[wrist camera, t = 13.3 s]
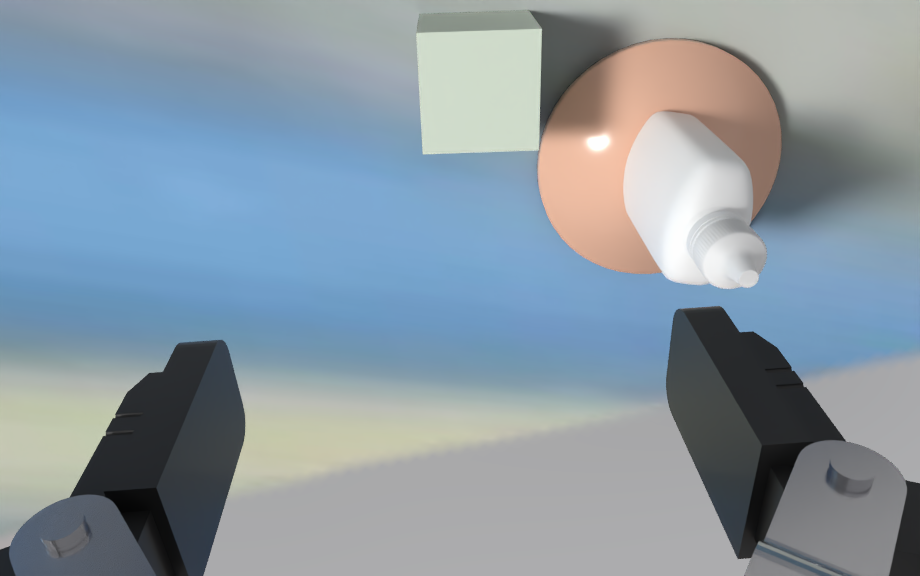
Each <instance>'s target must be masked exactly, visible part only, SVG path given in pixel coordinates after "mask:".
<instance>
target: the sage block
mask: <svg viewBox="0 0 920 576" xmlns="http://www.w3.org/2000/svg"><path fill="white" fill-rule="evenodd" d="M416 38H417V56H418V75H419V93H420V112H421V130H422V148H423V154H446V153H475V152H504V151H533V150H539V125H540V85H541V46H542V28H541V27H540V25H539V24H538V23H537V21H536V20H535V18H534V17H533V16H532V14H531V13H530V11H529V10H523V11H493V12H463V13H433V14H419V19H418V25H417V31H416Z"/></svg>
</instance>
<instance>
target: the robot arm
mask: <svg viewBox="0 0 920 576" xmlns="http://www.w3.org/2000/svg"><path fill="white" fill-rule="evenodd" d="M666 390H667V398H668V404H669V407H670V411H671V413H672V416H673V418H674V420H675V422H676V424H677V427H678V429H679V431H680V433H681V435H682V438H683V440H684V442H685V444H686V446H687V448H688V451H689V453H690V455H691V457H692V459H693V462H694V464H695V466H696V468H697V470H698V472H699V475H700V477H701V479H702V481H703V484H704V485H705V488H706V490H707V492H708V494H709V497H710V499H711V501H712V503H713V505H714V507H715V510H716V512H717V514H718V516H719V518H720V521H721V523H722V525H723V527H724V530H725V532H726V534H727V536H728V538H729V540H730V542H731V545H732V547H733V549H734V551H735V554H736V556H737V558H738V559H743V558H751V560H750V563H749V565H748V567H747V570H746V572H745V575H744V576H920V483H915V482H910V481H907V480H905V479H904V477H903V475H902V474H901V473H900V471H899V470H898V469H897V468H896V466H894V465H893V463H891V462H890V461H889V460H888V459H886V458H885V457H883V456H882V455H880V454H879V453H877V452H875V451H873V450H871V449H869V448H866V447H864V446H861V445H858V444H854V443H851V442H846V441H845V439H844V438H843V437H842V435H841V434H840V432H839V431H838V430H837V428H836V427H835V426H834V424H833V423H832V422H831V420H830V419H829V418H828V416H827V415H826V413H825V412H824V411H823V409H822V408H821V407H820V405H819V404H818V403H817V401H816V400H815V398H814V397H813V396H812V394H811V393H810V392H809V390H808V389H807V388H806V387H804V386H803V382H802V381H801V379H800V378H799V377H798V375H797V374H796V373H795V371H792V369H791V366H790V364H789V363H788V362H787V360H786V359H785V358H784V356H783V355H782V354H781V352H780V351H779V349H778V348H777V347H775V346H774V345H772V344H771V343H769V342H768V341H766V340H765V339H763V338H762V337H760V336H759V335H757V334H756V333H754V332H739V331H738V329H737V328H736V326H735V325H734V323H733V322H732V320H731V319H730V317H729V316H728V315H727V313H726V312H725V310H724V309H723V308H722V307H720V306H714V307H699V308H685V309H678V310H676V312H675V314H674V318H673V325H672V333H671V342H670V351H669V360H668V368H667V377H666ZM115 415H116V418H113V419H112V421H111V423H110V425H109V427H108V429H107V430H106V436H103V438H102V439H101V441H100V443H99V445H98V447H97V449H96V450H95V452H94V454H93V456H92V458H91V460H90V461H89V463H88V465H87V467H86V469H85V470H84V472H83V474H82V476H81V478H80V480H79V481H78V483H77V485H76V487H75V489H74V491H73V492H72V494H71V496H70V498H67V499H63V500H61V501H58V502H56V503H54V504H51V505H50V506H48V507H46V508H44V509H42V510H41V511H39V512H38V513H37V514H35V515H34V516H33V517H31V518H30V519H29V520H28V521H27V522H26V523H25V524H24V525H23V526H22V527H21V528H20V529H19V531H18V532H17V533H16V535H15V537H14V538H13V540H12V542H11V545H10V546H9V547H6V548H4V549H1V550H0V576H203V574H204V572H205V568H206V565H207V562H208V558H209V555H210V552H211V548H212V545H213V542H214V538H215V535H216V532H217V528H218V525H219V522H220V518H221V515H222V512H223V509H224V505H225V502H226V499H227V495H228V492H229V489H230V485H231V482H232V479H233V475H234V472H235V469H236V465H237V462H238V459H239V455H240V452H241V449H242V446H243V442H244V436H245V413H244V408H243V403H242V400H241V396H240V392H239V388H238V384H237V380H236V377H235V373H234V369H233V365H232V361H231V357H230V354H229V350H228V347H227V345H226V343H225V342H224V341H223V340H213V341H199V342H184V343H179V344H178V345H177V346H176V347H175V349H174V351H173V353H172V355H171V357H170V359H169V361H168V363H167V365H166V367H165V369H164V371H163V372H157V373H149V374H148V375H147V376H145V377H144V378H143V379H142V380H141V381H140V382H139V383H138V384H136V385H135V386H134V387H133V388H132V389H131V390H130V391H128V392H127V394H126V396H125V397H124V399H123V401H122V403H121V405H120V407H119V408H118V410H117V412H116V414H115Z"/></svg>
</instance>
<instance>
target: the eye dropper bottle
mask: <svg viewBox="0 0 920 576" xmlns="http://www.w3.org/2000/svg"><path fill="white" fill-rule="evenodd" d="M623 195H624V203H625V208H626V212H627V214H628V216H629V218H630V219H631V221H632V223H633V225H634V226H635V228H636V230H637V232H638V233H639V235H640V237H641V238H642V240H643V242H644V243H645V245H646V247H647V249H648V250H649V252H650V254H651V255H652V257H653V259H654V260H655V262H656V263H657V265H658V267H659V268H660V270H661V271H662V273H663V274H664V276H665V277H666V278H667V279H669V280H672V281H674V282H677V283H683V284H691V285H705V284H709V283H710V284H712V285H713V286H715V287H718V288H721V289H723V288H724V289H733V288H739V287H745V288H749V287H752V286H754V285H755V284H756V283H757V282H758V279H759V274H760V273H761V271H762V270H763V268H764V265H765V264H766V263H765V262H766V259H767V257H766V256H767V251H766V249H767V248H766V247H765V246H766V245H765V244H764V242H763V240H762V239H761V238H760V237H759V236H758V235H757V234H756V233H755V231H754V230H753V229H752V228H751V227H750V223H751V218H752V211H753V186H752V179H751V175H750V171H749V169H748V167H747V166H746V164H745V162H744V161H743V160H742V159H741V158H740V157H739V156H738V155H737V154H736V153H735V152H734V151H733V150H731V149H730V148H729V147H728V146H727V145H726V144H725V143H724V142H723V141H722V140H721V139H719V138H718V137H717V136H716V135H715V134H714V133H713V132H712V131H711V130H709V129H708V128H707V127H706V126H705V125H704V124H703V123H702V122H700V121H699V120H698V119H697V118H696V117H694V116H692V115H689V114H684V113H676V112H668V111H660V112H656V113H655V114H653V115H652V116H651V117H650V118H649V119H648V120H647V121H646V123H645V124H644V126H643V127H642V129H641V130H640V132H639V133H638V135H637V137H636V139H635V141H634V143H633V145H632V147H631V150H630V152H629V155H628V158H627V162H626V166H625V171H624V179H623Z"/></svg>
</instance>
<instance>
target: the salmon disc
mask: <svg viewBox="0 0 920 576" xmlns="http://www.w3.org/2000/svg"><path fill="white" fill-rule="evenodd" d="M660 111H668V112H676V113H684V114H689V115H692V116H694V117H696V118H697V119H698V120H699V121H700V122H702V123H703V124H704V125H705V126H706V127H707V128H708V129H709V130H711V131H712V132H713V133H714V134H715V135H716V136H717V137H718V138H719V139H721V140H722V141H723V142H724V143H725V144H726V145H727V146H728V147H729V148H730V149H731V150H733V151H734V152H735V153H736V154H737V155H738V156H739V157H740V158H741V159H742V160H743V161H744V162H745V164H746V166H747V167H748V169H749V171H750V175H751V179H752V186H753V211H752V218H751V221H752V220H753V219H754V218H755V216H756V215H757V213H758V212H759V210H760V209H761V207H762V206H763V204H764V202H765V201H766V199H767V197H768V195H769V193H770V191H771V189H772V186H773V183H774V181H775V178H776V175H777V171H778V167H779V163H780V156H781V147H782V141H781V127H780V121H779V116H778V112H777V109H776V106H775V103H774V101H773V99H772V97H771V95H770V93H769V91H768V89H767V88H766V86H765V85H764V84H763V82H762V81H761V79H760V78H759V77H758V76H757V75H756V74H755V73H754V72H753V71H752V70H751V69H750V68H749V67H748V66H747V65H746V64H744V63H743V62H742V61H740V60H739V59H737V58H736V57H735V56H733V55H731V54H729V53H727V52H725V51H723V50H721V49H719V48H717V47H715V46H713V45H709V44H706V43H703V42H700V41H695V40H689V39H677V38H665V39H656V40H649V41H645V42H641V43H636V44H633V45H630V46H628V47H625V48H622V49H620V50H617V51H615V52H614V53H612V54H610V55H608V56H606V57H604V58H602V59H601V60H599V61H598V62H597V63H595V64H594V65H592V66H591V67H589V68H588V69H587V70H586V71H585V72H584V73H582V74H581V75H580V76H579V77H578V78H577V79H576V80H575V81H574V82H573V83H572V84H571V85H570V86H569V88H568V89H567V90H566V91H565V92H564V93H563V95H562V96H561V98H560V99H559V101H558V102H557V104H556V105H555V107H554V109H553V111H552V113H551V114H550V116H549V118H548V120H547V123H546V125H545V128H544V131H543V134H542V136H541V141H540V146H539V150H538V159H537V178H538V186H539V191H540V196H541V199H542V202H543V204H544V207H545V210H546V213H547V215H548V217H549V219H550V221H551V223H552V225H553V227H554V228H555V230H556V231H557V232H558V234H559V235H560V237H561V238H562V239H563V240H564V241H565V242H566V243H567V244H568V245H569V246H570V247H571V248H572V249H573V250H575V251H576V252H577V253H578V254H580V255H581V256H583V257H584V258H586V259H588V260H590V261H591V262H593V263H595V264H598V265H600V266H603V267H605V268H608V269H612V270H616V271H619V272H626V273H634V274H652V273H661V272H662V271H661V270H660V268H659V267H658V265H657V263H656V262H655V260H654V259H653V257H652V255H651V254H650V252H649V250H648V249H647V247H646V245H645V243H644V242H643V240H642V238H641V237H640V235H639V233H638V232H637V230H636V228H635V226H634V225H633V223H632V221H631V219H630V218H629V216H628V214H627V212H626V208H625V203H624V195H623V179H624V171H625V166H626V162H627V158H628V155H629V152H630V150H631V147H632V145H633V143H634V141H635V139H636V137H637V135H638V133H639V132H640V130H641V129H642V127H643V126H644V124H645V123H646V121H647V120H648V119H649V118H650V117H651V116H652V115H653V114H655V113H656V112H660Z"/></svg>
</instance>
